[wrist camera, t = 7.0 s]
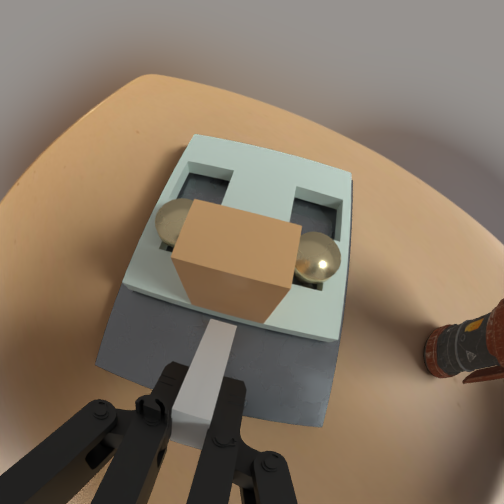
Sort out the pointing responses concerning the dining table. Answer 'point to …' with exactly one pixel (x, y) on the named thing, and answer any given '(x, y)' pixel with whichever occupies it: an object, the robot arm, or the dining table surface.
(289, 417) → the mounting plate
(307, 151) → the dining table surface
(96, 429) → the robot arm
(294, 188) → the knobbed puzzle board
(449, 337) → the grenade
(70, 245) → the dining table surface
